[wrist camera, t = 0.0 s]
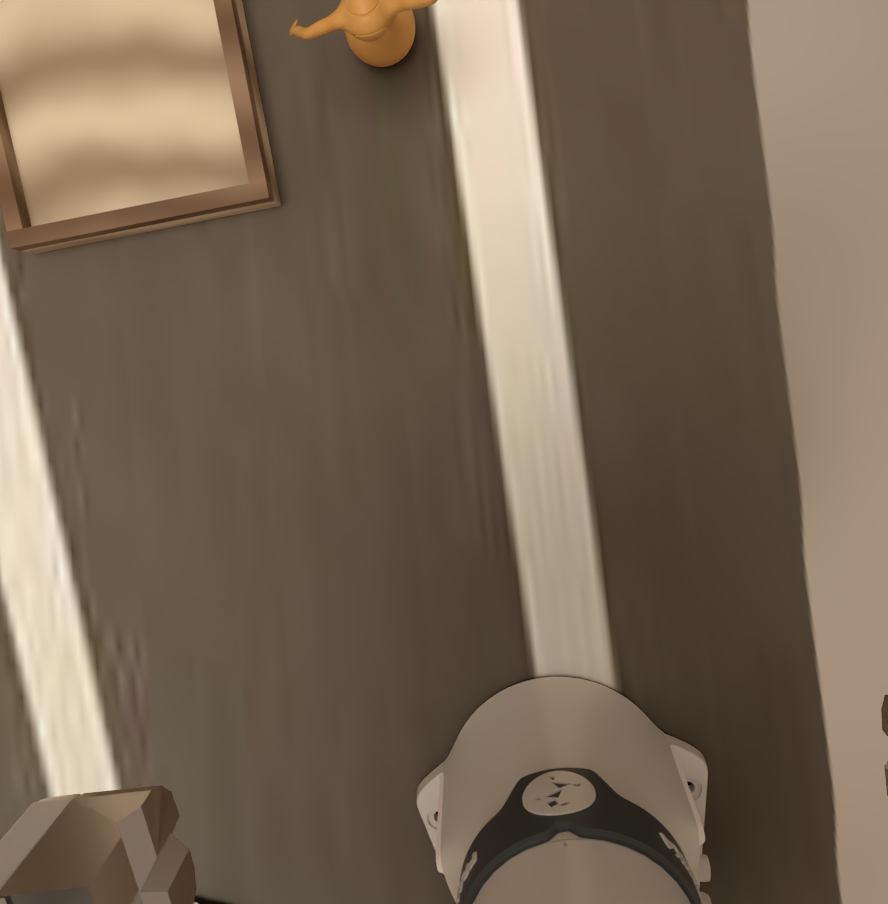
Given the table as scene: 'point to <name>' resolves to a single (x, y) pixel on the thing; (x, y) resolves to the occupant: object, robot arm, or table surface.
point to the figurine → (371, 28)
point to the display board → (127, 119)
